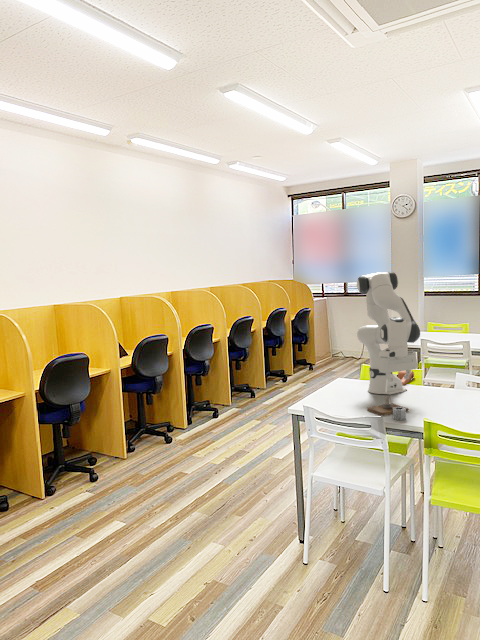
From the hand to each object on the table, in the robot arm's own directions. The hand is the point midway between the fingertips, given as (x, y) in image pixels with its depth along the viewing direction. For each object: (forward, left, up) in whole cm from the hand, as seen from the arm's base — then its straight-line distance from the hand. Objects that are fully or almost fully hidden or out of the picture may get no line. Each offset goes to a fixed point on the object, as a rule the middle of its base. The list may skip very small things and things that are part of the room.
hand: (398, 380), depth 231 cm
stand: (-4, -14, -19) cm, 24 cm away
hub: (0, 0, -19) cm, 19 cm away
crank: (-50, -58, -19) cm, 79 cm away
